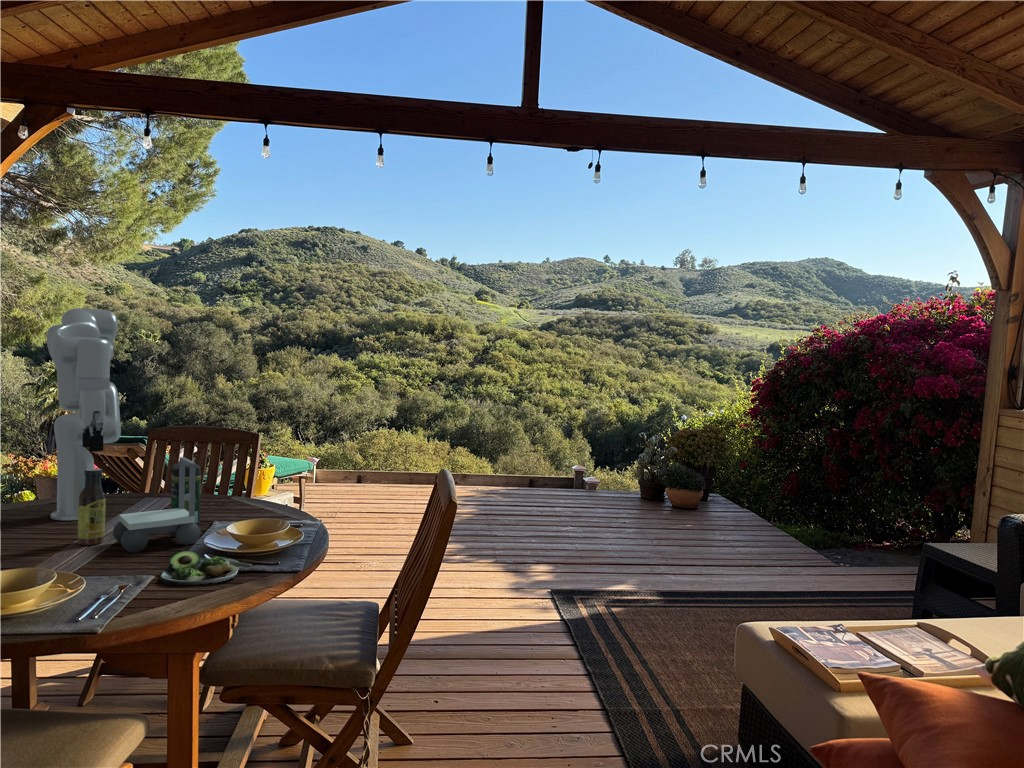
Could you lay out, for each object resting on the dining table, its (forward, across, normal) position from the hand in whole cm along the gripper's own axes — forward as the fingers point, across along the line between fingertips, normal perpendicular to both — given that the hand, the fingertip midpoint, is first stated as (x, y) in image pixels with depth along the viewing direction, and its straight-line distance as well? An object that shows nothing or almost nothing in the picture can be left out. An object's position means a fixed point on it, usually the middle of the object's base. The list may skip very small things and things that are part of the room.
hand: (92, 449), depth 185 cm
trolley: (+26, +8, +14) cm, 30 cm away
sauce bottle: (+26, -1, 0) cm, 26 cm away
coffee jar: (+26, -10, +26) cm, 38 cm away
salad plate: (+26, +40, +16) cm, 51 cm away
